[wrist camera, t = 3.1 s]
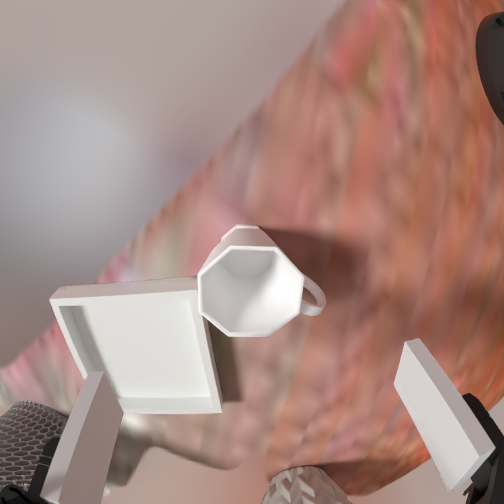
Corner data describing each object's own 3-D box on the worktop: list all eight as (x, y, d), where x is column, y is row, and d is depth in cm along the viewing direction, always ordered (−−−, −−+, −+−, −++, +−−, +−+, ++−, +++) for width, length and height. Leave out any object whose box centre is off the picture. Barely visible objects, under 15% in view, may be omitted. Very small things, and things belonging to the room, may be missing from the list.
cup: (224, 193, 25) (220, 223, 18) (330, 242, 27) (363, 285, 20) (191, 267, 28) (178, 319, 20) (292, 306, 30) (310, 363, 22)
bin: (60, 286, 28) (49, 299, 25) (199, 275, 28) (197, 289, 26) (106, 396, 33) (101, 411, 31) (222, 396, 34) (222, 412, 31)
